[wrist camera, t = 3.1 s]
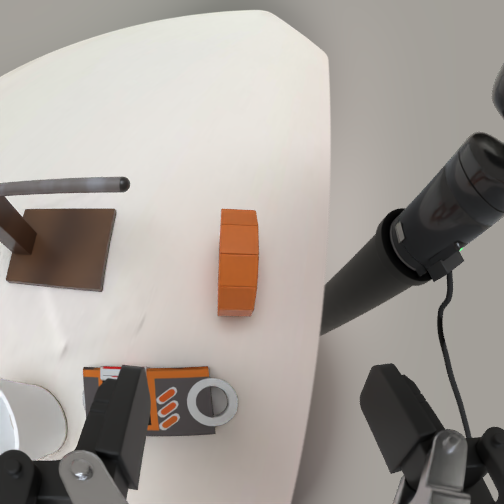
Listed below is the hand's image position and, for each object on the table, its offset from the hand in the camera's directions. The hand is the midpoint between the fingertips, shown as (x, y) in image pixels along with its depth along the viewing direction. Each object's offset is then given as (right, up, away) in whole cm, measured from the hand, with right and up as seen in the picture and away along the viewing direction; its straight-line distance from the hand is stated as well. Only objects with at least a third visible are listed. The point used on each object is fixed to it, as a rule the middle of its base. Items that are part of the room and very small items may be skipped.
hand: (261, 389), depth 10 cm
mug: (-25, -14, +13) cm, 31 cm away
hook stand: (-21, +5, +22) cm, 31 cm away
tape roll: (-2, +2, +23) cm, 23 cm away
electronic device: (-9, -10, +17) cm, 22 cm away
